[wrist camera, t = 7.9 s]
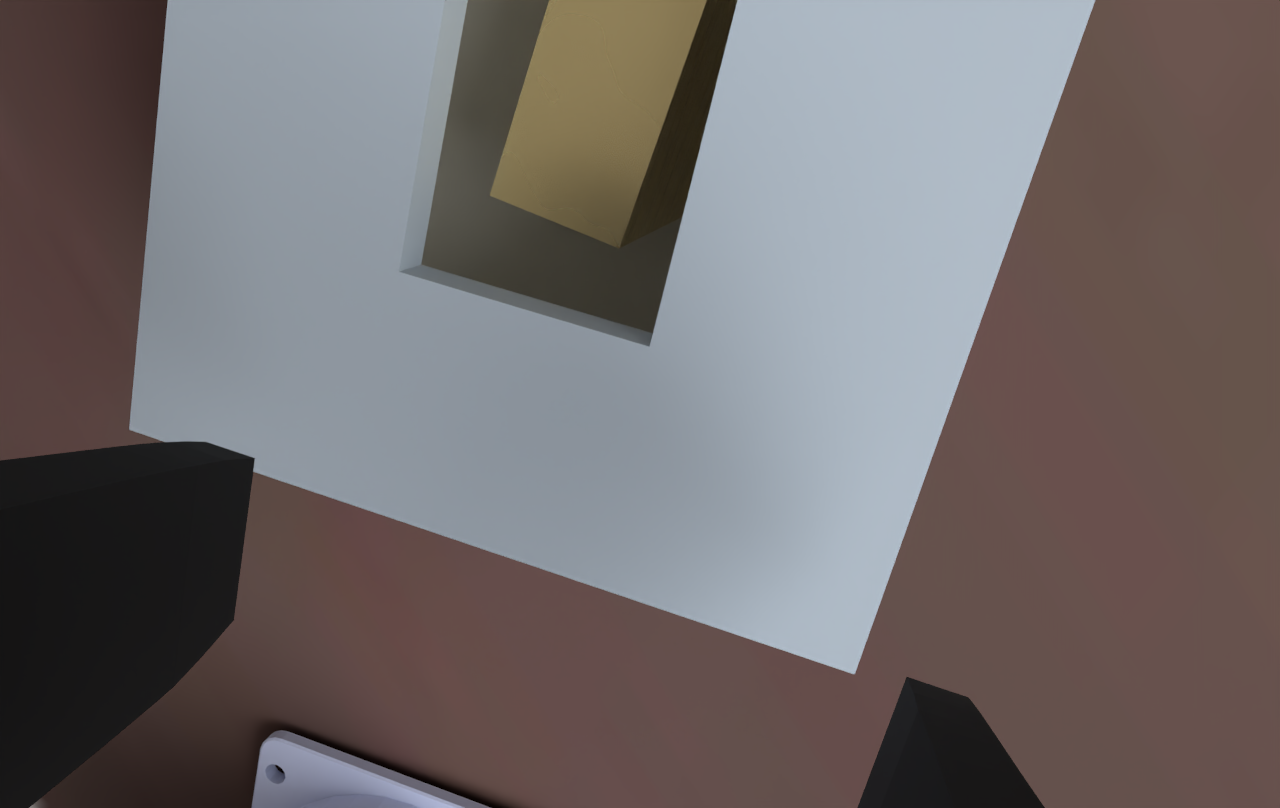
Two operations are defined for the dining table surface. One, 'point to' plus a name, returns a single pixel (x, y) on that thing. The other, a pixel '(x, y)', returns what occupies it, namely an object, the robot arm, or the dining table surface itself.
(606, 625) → the dining table surface
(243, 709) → the dining table surface
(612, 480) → the tissue box
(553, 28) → the tan wooden block
